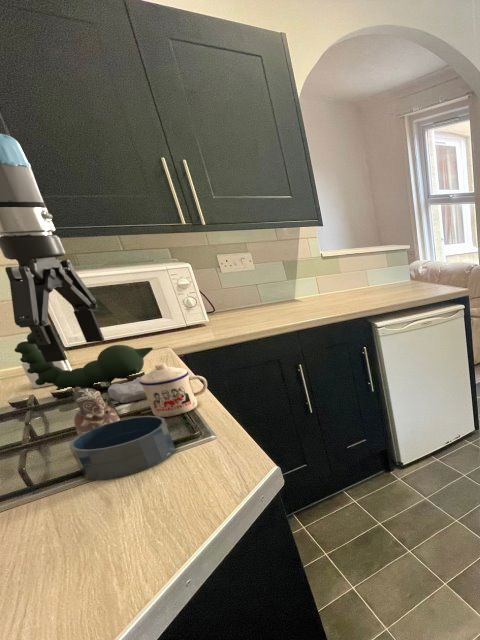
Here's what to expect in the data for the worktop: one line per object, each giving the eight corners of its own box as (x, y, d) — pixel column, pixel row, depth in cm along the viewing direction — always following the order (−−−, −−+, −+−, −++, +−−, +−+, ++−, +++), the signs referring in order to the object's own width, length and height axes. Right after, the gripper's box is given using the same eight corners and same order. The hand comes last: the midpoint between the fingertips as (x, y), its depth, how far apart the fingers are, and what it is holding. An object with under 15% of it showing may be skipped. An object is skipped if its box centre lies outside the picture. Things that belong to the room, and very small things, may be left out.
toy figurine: (46, 409, 107) (165, 378, 120) (0, 340, 99) (133, 314, 112) (55, 398, 114) (166, 369, 127) (13, 332, 106) (136, 309, 119)
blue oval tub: (67, 487, 72) (52, 457, 70) (104, 450, 84) (92, 423, 82) (161, 469, 77) (150, 441, 75) (183, 436, 89) (174, 410, 86)
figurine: (89, 454, 83) (63, 398, 78) (77, 445, 86) (51, 391, 82) (133, 438, 88) (111, 386, 84) (120, 430, 92) (99, 379, 87)
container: (74, 375, 127) (55, 333, 122) (71, 382, 121) (51, 338, 116) (38, 381, 122) (17, 338, 117) (33, 389, 116) (10, 344, 112)
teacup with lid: (152, 421, 95) (133, 374, 91) (152, 409, 102) (134, 364, 98) (214, 406, 102) (200, 361, 98) (210, 395, 109) (197, 353, 104)
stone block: (180, 395, 114) (161, 382, 118) (175, 380, 112) (156, 367, 116) (127, 413, 105) (108, 399, 109) (120, 397, 102) (102, 383, 106)
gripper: (5, 236, 63) (65, 367, 71) (91, 231, 85) (129, 332, 93) (-63, 238, 61) (7, 374, 69) (43, 233, 83) (87, 336, 91)
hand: (77, 350), depth 81 cm, fingers open, 13 cm apart
